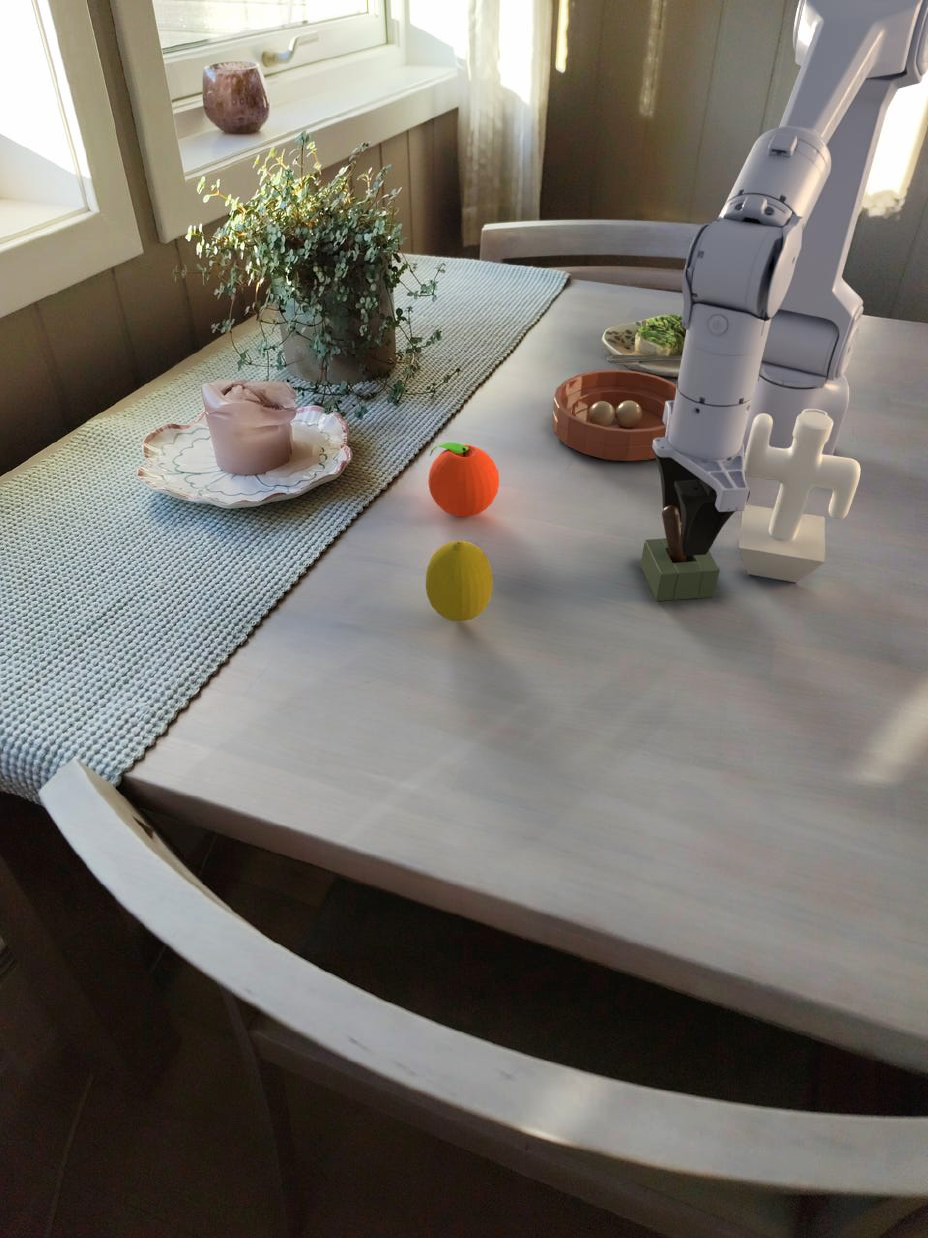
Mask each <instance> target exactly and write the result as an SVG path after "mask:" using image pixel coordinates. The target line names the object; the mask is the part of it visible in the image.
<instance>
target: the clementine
mask: <svg viewBox="0 0 928 1238" xmlns="http://www.w3.org/2000/svg"><path fill="white" fill-rule="evenodd" d="M437 448H444V450H443V451H442V452H440V453H439V455H437V456H436V458H435V459H434V461H433V462H432V464H431V466H430V469H429V474H428V481H427V483H428V488H429V492H430V496H431V497H432V499H433V501H434V502H435V504H436V505H437V506H438V507H439V508H440V509H441V510H442V511H444V512H445V513H447V514H450V515H452V516H456V517H460V518H465V517H472V516H475V515H478V514H481V513H482V512H484V511H485V510H486V509H488V508H489V507H490V506H491V505H492V503H493V502H494V500H495V498H496V496H497V494H498V491H499V487H500V475H499V470H498V468H497V465H496V463H495V461H494V459H493V458H492V457H491V456H490V455H489V454H488V453H487V452H486V451H485V450H483V449H481V448H479V447H477V446H474V445H470V444H461V443H458V442H444V443H441V444H438V445H436V446H435V447H433V448H432V449H431V451H430V454H429V457H431V456H432V454H433V452H434V451H435V449H437Z"/></svg>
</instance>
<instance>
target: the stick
mask: <svg viewBox="0 0 928 1238" xmlns="http://www.w3.org/2000/svg"><path fill="white" fill-rule="evenodd" d="M661 519H662V523H663V528H664V534H665V538H666V540H667V546H668V551H669V557H670V559H671V561H672V563H680V562H687V559H686V556H684V555H683V553H682V552H681V546H680V534H681V522H680V516H679V511H678V509H677V508H676V507H675V506H672V505H669V506H666V507H665V508H664V509H663V508H662V511H661Z"/></svg>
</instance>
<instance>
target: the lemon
mask: <svg viewBox="0 0 928 1238" xmlns="http://www.w3.org/2000/svg"><path fill="white" fill-rule="evenodd" d="M493 587H494V578H493V571H492V567H491V563H490V561H489V559H488V557H487V555H486V554H485V553H484V551H483V550H482V549H481V548H480V547H479V546H477V545H476V544H474V543H473V542H469V541H465V540H452V541H449V542H447V543H444V544H443V545H441V546H440V547H439V548H437V549H436V551H434V552H433V554H432V556H431V558H430V560H429V562H428V565H427V568H426V573H425V591H426V596H427V598H428V601H429V603H430V605H431V607H432V608H433V610H435V612H436V613H437V614H438V615H439V616H441V617H442V618H444V619H446V620H449V621H451V622H452V621H453V622H467V621H470V620H473V619H474V618H476V617H478V616H479V615H480V614H481V613H482V612H483V611H484V610H485V609H486V608H487V606H488V604H489V602H490V601H491V598H492V594H493Z"/></svg>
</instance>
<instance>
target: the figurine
mask: <svg viewBox="0 0 928 1238" xmlns="http://www.w3.org/2000/svg"><path fill="white" fill-rule="evenodd" d="M772 426H773V420H772V418H771V416H770V415H768V414H765V413H762V414H759V415H757V416H756V417H755V419H754V421H753V424H752V428H751V432H750V436H749V440H748V444H747V449H746V453H745V457H744V473H746V474H747V476H750V477H753V478H758V479H762V480H770V481H775V482H778V483H780V486H779V490H778V493H777V497H776V499H775V500H776V501H775V504H774V507H773V508H770V507H765V506H758V505H751V504H746V505H745V509H744V510H742V515H741V523H740V531H739V540H738V550H739V553H740V557H741V559H742V562H743V565H744V567H745V571H746V573H747V575H750V576H756V577H761V578H762V577H763V578H767V579H772V580H773V579H774V580H779V581H784V582H785V581H786V582H789V583H790V582H791V583H796V584H797V583H798V582H800V581H801V580H803V579H805V578H806V577H807V576H808V575H809V574H812V572H814V571H815V570H816V569H818V568H820V567H821V566H822V565H823V564H825V562H826V527H825V526H826V520H825V519H826V518H825V516H821V515H820V516H819V515H814V514H809V513H804V512H805V510H806V506H807V502H808V500H809V496H810V493H811V491H812V489H813V487H814V488H815V487H816V488H821V489H828V490H831V491H832V495H831V498H830V502H829V504H828V514H829V516H830V517H831V518H833V519H834V520H838V521H840V520H844V519H845V518H846V517H847V516H848V514H849V512H850V508H851V505H852V503H853V500H854V498H855V497H854V496H855V494H856V491H857V488H858V485H859V483H860V477H861V465H860V463H859V462H858V461H857V460H856V459H853V458H850V457H844V456H838V455H837V456H836V455H834V456H831V455H824V454H822V450H823V447H824V444H825V443H826V442H827V441H828V439H829V436H830V433H831V430H832V427H833V420H832V419H831V418H830V417H828V416H827V413H826V412H825V411H822V410H818V409H805V410H803V412H802V414H800V415H798V417H797V420H796V423H795V427H794V430H793V437H794V439H793V442H792V446H791V447H790V448H787V449H782V448H775V447H771V446H770V445H769V439H770V434H771V431H772Z"/></svg>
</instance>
